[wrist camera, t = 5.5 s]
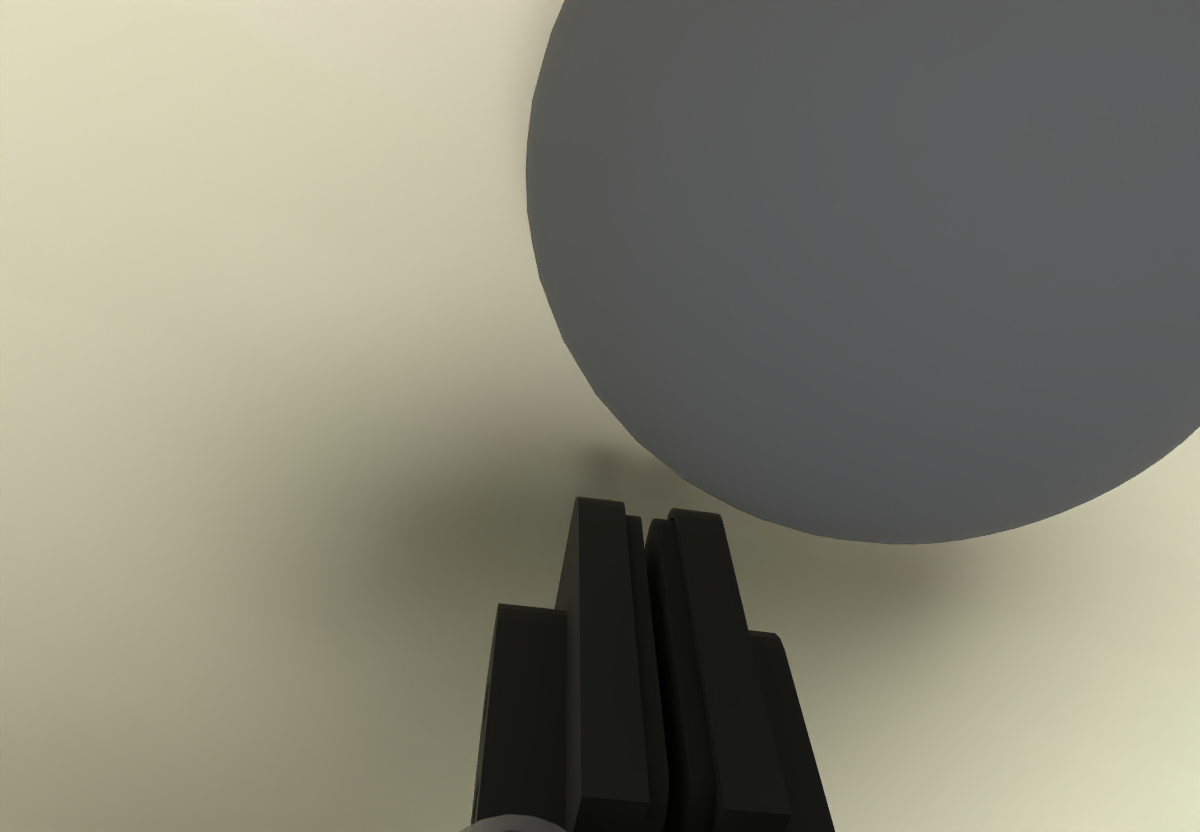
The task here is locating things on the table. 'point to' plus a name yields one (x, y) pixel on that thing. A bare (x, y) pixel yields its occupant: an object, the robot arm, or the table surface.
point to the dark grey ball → (879, 248)
